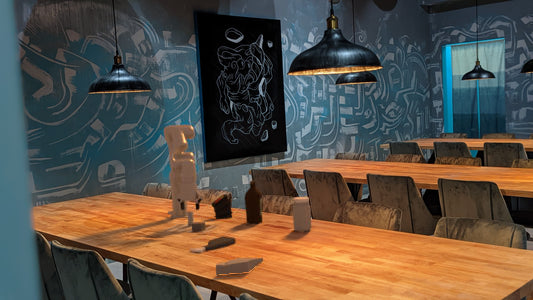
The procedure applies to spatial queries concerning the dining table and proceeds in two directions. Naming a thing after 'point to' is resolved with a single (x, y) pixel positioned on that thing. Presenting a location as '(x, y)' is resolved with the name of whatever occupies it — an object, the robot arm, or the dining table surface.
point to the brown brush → (216, 244)
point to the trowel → (237, 265)
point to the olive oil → (253, 204)
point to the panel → (189, 228)
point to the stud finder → (198, 226)
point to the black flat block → (222, 207)
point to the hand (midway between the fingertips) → (190, 209)
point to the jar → (301, 214)
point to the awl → (190, 218)
